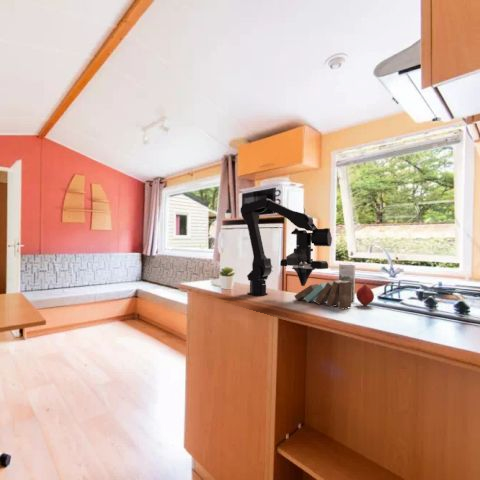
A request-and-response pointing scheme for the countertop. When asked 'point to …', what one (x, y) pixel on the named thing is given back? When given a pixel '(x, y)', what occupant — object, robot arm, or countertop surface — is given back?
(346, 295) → the domino
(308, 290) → the domino
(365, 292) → the onion
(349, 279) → the syrup box
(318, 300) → the domino
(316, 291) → the domino
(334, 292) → the domino
